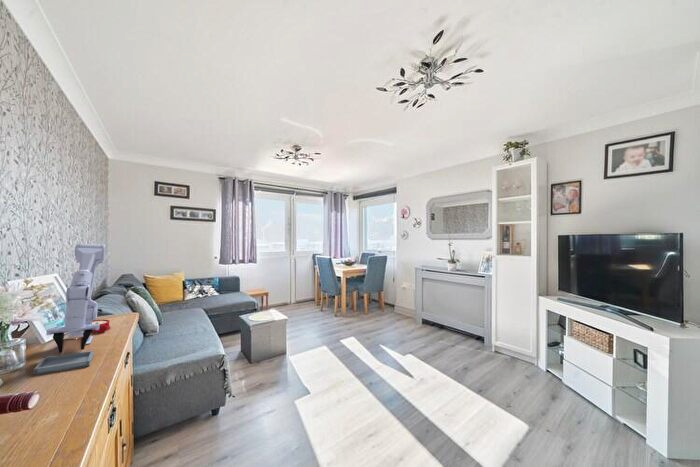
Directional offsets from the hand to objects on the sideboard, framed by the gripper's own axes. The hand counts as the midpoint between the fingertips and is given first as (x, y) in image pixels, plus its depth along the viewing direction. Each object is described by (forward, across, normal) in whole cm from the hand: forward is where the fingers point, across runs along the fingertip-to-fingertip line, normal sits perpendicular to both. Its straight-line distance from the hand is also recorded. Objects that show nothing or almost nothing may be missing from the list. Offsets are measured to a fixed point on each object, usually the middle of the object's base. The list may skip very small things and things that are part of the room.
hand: (71, 350), depth 105 cm
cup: (+2, 0, 0) cm, 2 cm away
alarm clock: (+2, +4, +30) cm, 31 cm away
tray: (+2, 0, -10) cm, 10 cm away
